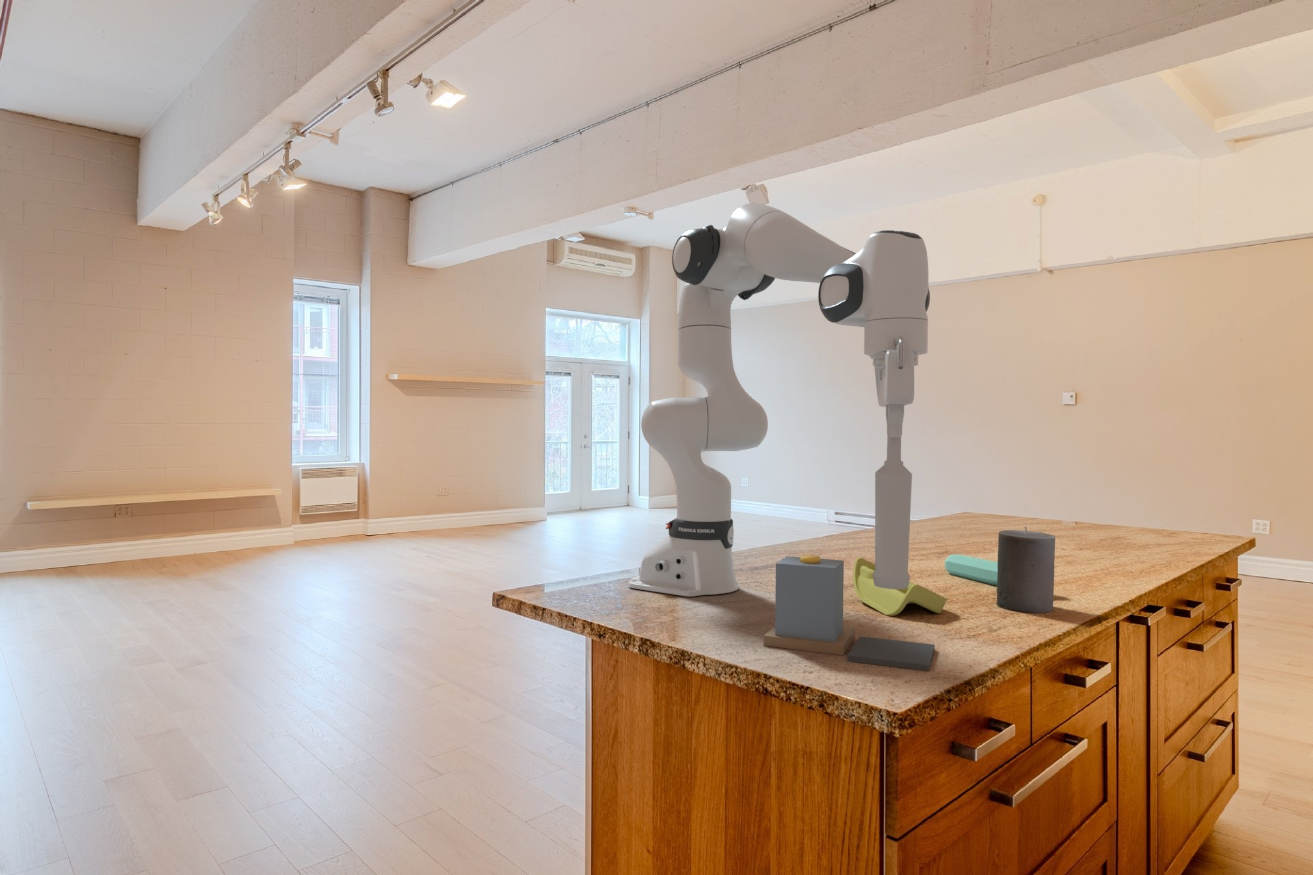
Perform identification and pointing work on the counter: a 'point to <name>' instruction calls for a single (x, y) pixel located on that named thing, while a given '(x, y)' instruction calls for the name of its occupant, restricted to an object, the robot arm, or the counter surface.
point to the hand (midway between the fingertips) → (894, 437)
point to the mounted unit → (810, 606)
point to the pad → (892, 653)
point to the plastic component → (891, 592)
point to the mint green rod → (972, 568)
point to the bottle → (892, 519)
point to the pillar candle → (1025, 571)
